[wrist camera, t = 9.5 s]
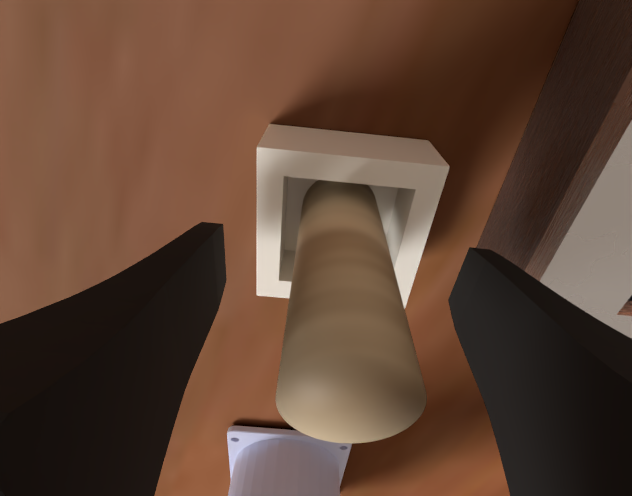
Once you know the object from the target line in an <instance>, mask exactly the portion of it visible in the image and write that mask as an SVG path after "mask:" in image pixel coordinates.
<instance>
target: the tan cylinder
mask: <svg viewBox="0 0 632 496" xmlns="http://www.w3.org/2000/svg"><path fill="white" fill-rule="evenodd" d="M426 400H427V396H426V390H425V386H424V382H423V378H422V374H421V371H420V367H419V363H418V359H417V355H416V351H415V348H414V344H413V340H412V336H411V332H410V328H409V325H408V321H407V317H406V313H405V309H404V305H403V302H402V298H401V294H400V290H399V286H398V282H397V279H396V275H395V271H394V267H393V263H392V259H391V256H390V252H389V248H388V244H387V240H386V236H385V233H384V229H383V225H382V221H381V217H380V213H379V210H378V206H377V202H376V198H375V195H374V193H373V191H372V190H371V188H370V187H369V186H368V185H367V184H357V183H347V182H337V181H326V180H318V181H316V182H315V183H314V184H313V185H312V186H311V187H310V188H309V189H308V191H307V192H306V194H305V196H304V199H303V204H302V211H301V218H300V225H299V232H298V240H297V247H296V254H295V261H294V268H293V276H292V283H291V290H290V297H289V304H288V312H287V319H286V326H285V333H284V340H283V348H282V355H281V362H280V369H279V376H278V384H277V391H276V405H277V409H278V411H279V413H280V415H281V416H282V417H283V419H284V420H285V421H286V422H287V423H288V424H289V425H291V426H292V427H293V428H295V429H296V430H298V431H300V432H301V433H304V434H306V435H308V436H311V437H313V438H316V439H320V440H324V441H329V442H336V443H365V442H372V441H377V440H381V439H385V438H388V437H391V436H393V435H396V434H398V433H400V432H402V431H404V430H405V429H407V428H408V427H410V426H411V425H412V424H413V423H414V422H416V421H417V419H418V418H419V417H420V416H421V414H422V413H423V411H424V409H425V406H426Z"/></svg>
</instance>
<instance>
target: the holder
mask: <svg viewBox="0 0 632 496" xmlns="http://www.w3.org/2000/svg"><path fill="white" fill-rule="evenodd" d="M449 168H450V166H449V165H448V164H447V162H446V161H445V160H444V159H443V158H442V156H441V155H440V154H439V153H438V151H437V150H436V149H435V148H434V147H433V145H432V144H431V143H430V142H429V140H421V139H411V138H401V137H392V136H382V135H373V134H363V133H353V132H344V131H334V130H324V129H315V128H305V127H295V126H286V125H276V124H269V125H268V127H267V129H266V131H265V133H264V135H263V136H262V138H261V140H260V142H259V144H258V146H257V295H258V296H269V297H280V298H289V297H290V290H291V283H292V276H293V268H294V261H295V254H296V247H297V240H298V232H299V225H300V218H301V211H302V204H303V199H304V196H305V194H306V192H307V191H308V189H309V188H310V187H311V186H312V185H313V184H314V183H315V182H316V181H318V180H326V181H337V182H347V183H357V184H367V185H368V186H369V187H370V188H371V190H372V191H373V193H374V195H375V198H376V202H377V206H378V210H379V213H380V217H381V221H382V225H383V229H384V233H385V236H386V240H387V244H388V248H389V252H390V256H391V259H392V263H393V267H394V271H395V275H396V279H397V282H398V286H399V290H400V294H401V298H402V302H403V305H404V309H405V307H406V304H407V300H408V297H409V294H410V291H411V288H412V285H413V281H414V278H415V275H416V272H417V269H418V266H419V263H420V259H421V256H422V253H423V250H424V247H425V244H426V241H427V237H428V234H429V231H430V228H431V225H432V222H433V218H434V215H435V212H436V209H437V206H438V203H439V200H440V196H441V193H442V190H443V187H444V184H445V181H446V177H447V174H448V171H449Z"/></svg>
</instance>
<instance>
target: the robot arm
mask: <svg viewBox="0 0 632 496" xmlns="http://www.w3.org/2000/svg"><path fill="white" fill-rule="evenodd" d="M225 283H226V266H225V249H224V232H223V224H217V223H206V222H201V223H199V224H198V225H196V226H194V227H193V228H191V229H190V230H188V231H187V232H185V233H184V234H182V235H181V236H179V237H178V238H176V239H175V240H173V241H172V242H170V243H168V244H167V245H165V246H164V247H162V248H161V249H159V250H158V251H156V252H154V253H153V254H151V255H150V256H148V257H146V258H144V259H143V260H141V261H139V262H138V263H136V264H134V265H132V266H131V267H129V268H127V269H126V270H124V271H122V272H120V273H119V274H117V275H115V276H113V277H111V278H109V279H107V280H105V281H103V282H101V283H99V284H97V285H95V286H93V287H91V288H89V289H86V290H84V291H82V292H80V293H78V294H76V295H73V296H71V297H69V298H66V299H64V300H61V301H59V302H56V303H54V304H51V305H49V306H46V307H44V308H41V309H39V310H36V311H34V312H31V313H29V314H26V315H24V316H21V317H18V318H15V319H13V320H10V321H7V322H4V323H1V324H0V496H154V494H155V491H156V487H157V483H158V480H159V476H160V472H161V469H162V465H163V461H164V458H165V455H166V451H167V448H168V444H169V441H170V437H171V434H172V430H173V427H174V424H175V420H176V417H177V414H178V411H179V408H180V404H181V401H182V398H183V395H184V391H185V389H186V386H187V383H188V381H189V378H190V375H191V373H192V370H193V368H194V366H195V363H196V361H197V359H198V356H199V354H200V352H201V349H202V347H203V345H204V342H205V340H206V338H207V335H208V333H209V331H210V328H211V326H212V323H213V321H214V319H215V316H216V314H217V311H218V309H219V305H220V302H221V298H222V295H223V291H224V287H225ZM448 301H449V305H450V310H451V314H452V319H453V322H454V326H455V330H456V333H457V335H458V338H459V341H460V343H461V346H462V348H463V351H464V353H465V356H466V358H467V361H468V363H469V365H470V368H471V370H472V373H473V375H474V378H475V380H476V383H477V385H478V388H479V390H480V393H481V395H482V397H483V400H484V403H485V406H486V408H487V411H488V414H489V417H490V421H491V424H492V428H493V431H494V435H495V438H496V442H497V445H498V449H499V452H500V456H501V460H502V464H503V468H504V472H505V476H506V480H507V484H508V487H509V492H510V496H632V338H630V337H628V336H626V335H624V334H622V333H621V332H619V331H617V330H615V329H613V328H612V327H610V326H608V325H606V324H605V323H603V322H601V321H600V320H598V319H596V318H595V317H593V316H592V315H590V314H588V313H587V312H585V311H584V310H582V309H580V308H579V307H577V306H576V305H574V304H572V303H571V302H569V301H568V300H566V299H565V298H563V297H562V296H560V295H559V294H557V293H556V292H554V291H553V290H551V289H550V288H548V287H547V286H545V285H544V284H542V283H541V282H540V281H538V280H537V279H535V278H534V277H532V276H531V275H529V274H528V273H526V272H525V271H524V270H522V269H521V268H519V267H518V266H516V265H515V264H513V263H512V262H510V261H509V260H507V259H506V258H504V257H503V256H501V255H499V254H498V253H496V252H494V251H492V250H490V249H480V248H469V250H468V252H467V255H466V257H465V260H464V262H463V265H462V267H461V270H460V272H459V275H458V277H457V280H456V282H455V285H454V287H453V290H452V292H451V295H450V297H449V300H448ZM227 440H228V452H229V464H230V476H231V483H230V488H229V493H228V496H340V484H341V481H342V478H343V474H344V471H345V467H346V464H347V460H348V457H349V453H350V450H351V446H352V443H336V442H329V441H324V440H320V439H316V438H313V437H311V436H308V435H306V434H304V433H301V432H300V431H298V430H287V429H274V428H262V427H249V426H231V427H229V428H228V432H227Z"/></svg>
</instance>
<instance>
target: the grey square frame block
mask: <svg viewBox="0 0 632 496" xmlns="http://www.w3.org/2000/svg"><path fill="white" fill-rule="evenodd" d="M477 248H480V249H490V250H492V251H494V252H496V253H498V254H499V255H501V256H503V257H504V258H506V259H507V260H509V261H510V262H512V263H513V264H515V265H516V266H518V267H519V268H521V269H522V270H524V271H525V272H526V273H528V274H529V275H531V276H532V277H534V278H535V279H537V280H538V281H540V282H541V283H542V284H544V285H545V286H547V287H548V288H550V289H551V290H553V291H554V292H556V293H557V294H559V295H560V296H562V297H563V298H565V299H566V300H568V301H569V302H571V303H572V304H574V305H576V306H577V307H579V308H580V309H582V310H584V311H585V312H587V313H588V314H590V315H592V316H593V317H595V318H596V319H598V320H600V321H601V322H603V323H605V324H606V325H608V326H610V327H612V328H613V329H615V330H617V331H619V332H621V333H622V334H624V335H626V336H628V337H630V338H632V0H579V2H578V5H577V7H576V10H575V12H574V14H573V17H572V19H571V22H570V24H569V26H568V29H567V31H566V34H565V36H564V39H563V41H562V43H561V46H560V48H559V51H558V53H557V55H556V58H555V60H554V63H553V65H552V67H551V70H550V72H549V75H548V77H547V79H546V82H545V84H544V87H543V89H542V91H541V94H540V96H539V99H538V101H537V103H536V106H535V108H534V111H533V113H532V115H531V118H530V120H529V123H528V125H527V127H526V130H525V132H524V135H523V137H522V140H521V142H520V144H519V147H518V149H517V152H516V154H515V156H514V159H513V161H512V164H511V166H510V168H509V171H508V173H507V176H506V178H505V180H504V183H503V185H502V188H501V190H500V192H499V195H498V197H497V200H496V202H495V204H494V207H493V209H492V212H491V214H490V216H489V219H488V221H487V224H486V226H485V228H484V231H483V233H482V236H481V238H480V241H479V243H478V245H477Z"/></svg>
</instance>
